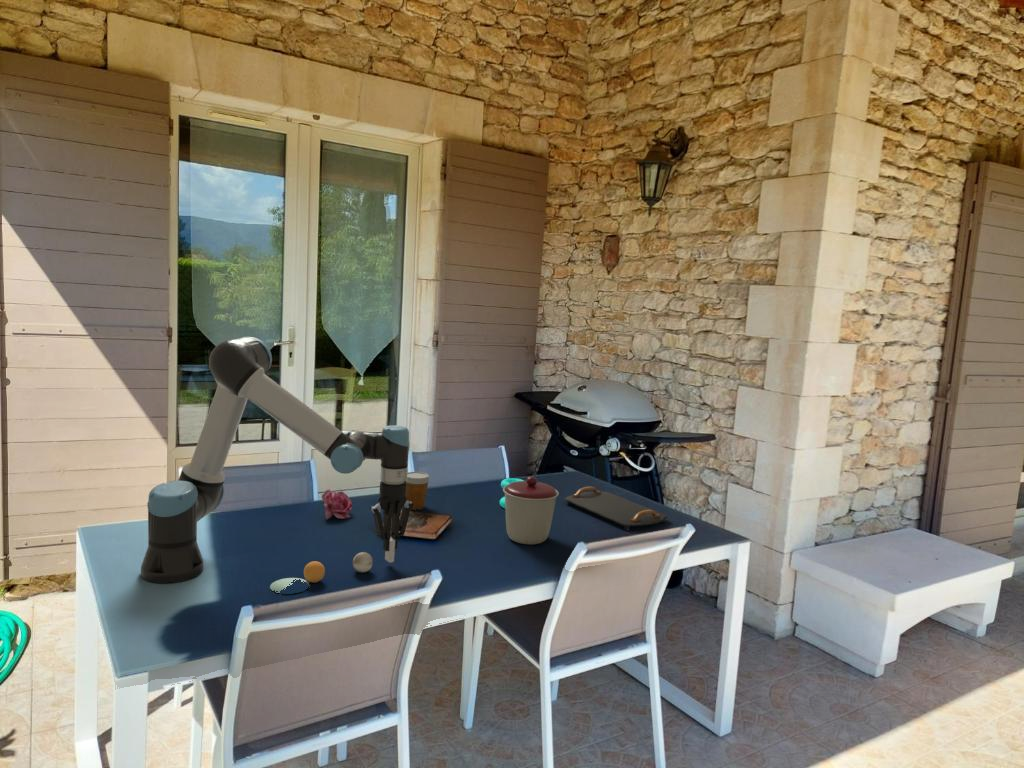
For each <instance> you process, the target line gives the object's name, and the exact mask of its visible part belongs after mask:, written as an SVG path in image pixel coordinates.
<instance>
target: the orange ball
mask: <svg viewBox="0 0 1024 768" xmlns="http://www.w3.org/2000/svg"><path fill="white" fill-rule="evenodd" d="M325 569H326V568H325V566H324V564H322V563H321V562H320V561H315V560H313V561H310V562H308V563H306V565H305V566H304V569H303V577H304V578H305V580H306V581H308V582H309V583H319V582H320V581H321V580H322V579H323V578H324V576H325V574H326V570H325Z"/></svg>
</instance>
